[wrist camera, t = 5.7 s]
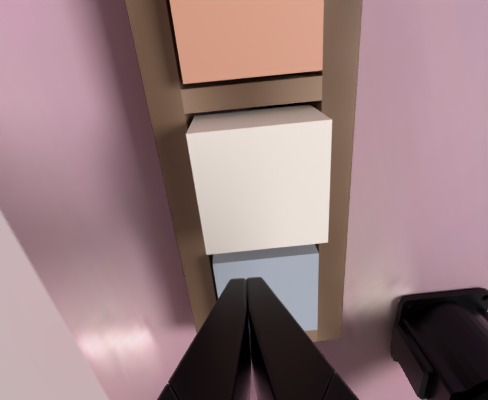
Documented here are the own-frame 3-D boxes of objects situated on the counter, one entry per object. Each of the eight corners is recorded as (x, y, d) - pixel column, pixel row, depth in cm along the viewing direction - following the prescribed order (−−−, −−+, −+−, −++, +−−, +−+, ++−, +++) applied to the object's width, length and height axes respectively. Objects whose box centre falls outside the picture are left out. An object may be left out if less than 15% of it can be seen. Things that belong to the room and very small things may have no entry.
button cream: (309, 104, 15) (332, 119, 12) (309, 206, 17) (327, 242, 14) (194, 115, 15) (185, 134, 11) (210, 216, 17) (206, 254, 14)
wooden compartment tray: (343, -150, 12) (375, -205, 10) (327, 304, 23) (340, 339, 20) (117, -128, 12) (86, -178, 10) (204, 317, 23) (201, 353, 20)
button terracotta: (301, -76, 13) (326, -117, 10) (302, 66, 15) (322, 70, 12) (171, -64, 13) (153, -100, 10) (192, 76, 15) (183, 83, 12)
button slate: (303, 219, 19) (318, 253, 16) (303, 288, 21) (317, 329, 18) (215, 228, 19) (212, 263, 16) (225, 296, 21) (224, 339, 18)
